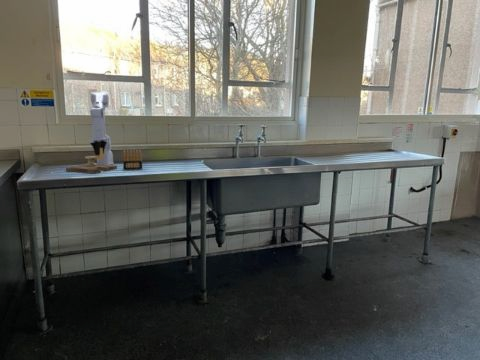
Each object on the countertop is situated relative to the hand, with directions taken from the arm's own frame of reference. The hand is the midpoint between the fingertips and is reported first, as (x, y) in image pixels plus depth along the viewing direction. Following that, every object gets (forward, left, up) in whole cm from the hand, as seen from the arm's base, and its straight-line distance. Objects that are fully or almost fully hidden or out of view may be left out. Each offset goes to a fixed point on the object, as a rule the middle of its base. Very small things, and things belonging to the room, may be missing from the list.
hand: (99, 154), depth 199 cm
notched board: (-2, -7, -9) cm, 12 cm away
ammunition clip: (-14, +12, -10) cm, 20 cm away
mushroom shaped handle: (-5, -10, -7) cm, 14 cm away
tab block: (0, 0, -2) cm, 2 cm away
